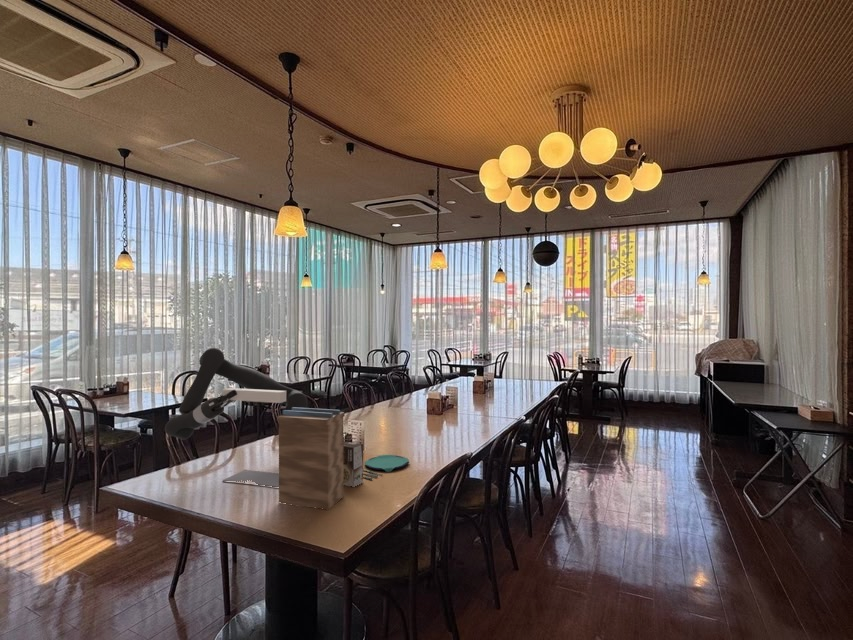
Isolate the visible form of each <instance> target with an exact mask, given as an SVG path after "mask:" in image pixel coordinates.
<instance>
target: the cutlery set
mask: <svg viewBox="0 0 853 640" xmlns="http://www.w3.org/2000/svg"><path fill="white" fill-rule="evenodd" d="M409 463H410V460H409V458H407V457H405V456H401V455H393V454H381V455H377V456H374V457H371V458H369V459H367V460H365V461H364V467H368V468H369V469H372V470H379V471H385V472H386V473H390V472H392V471H393V470H397V469H400V468H403V467H405V466H406V465H407V464H409ZM372 470H367V469H363V475H365V474H366V476H363V479H364V478H366V479H365V480H369V479H370V480H369V481H373V480H372V479H373V477H375V478H378V477H379V475H380V476H382V475H383V474H382V473H378V472H374V471H372ZM365 471H367V472H365ZM364 472H365V473H364ZM369 472H370V473H369ZM383 476H384V475H383Z"/></svg>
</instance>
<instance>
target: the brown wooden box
mask: <svg viewBox="0 0 853 640" xmlns="http://www.w3.org/2000/svg"><path fill="white" fill-rule="evenodd" d="M345 414H346V413H345V411H341V410H340V409H331V408H330V409H328V408H313V407H311V408H310V407H307V408H298V407H293V408H292V410H287V409H283V410H282V414H281V415H278V416H277V417H276V421H277V422H278V473H279V488H278V503H279V502H281V503H286V504H292V505H291V506H294V505H298V506H297V507H301V506H307V507H306V508H309V507H316V508H315V509H317V508H323V509H322V510H325V509H328V510H330V509H331V508H332V507H333V506H335V505H336V504H337V503H338V502H340V499H341V498H342V499H343V498H344V485H343V443H344V417H346V415H345ZM342 499H341V500H342ZM336 502H337V503H336ZM335 503H336V504H335ZM286 504H285V505H286ZM334 504H335V505H334ZM330 507H331V508H330ZM329 508H330V509H329Z"/></svg>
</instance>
